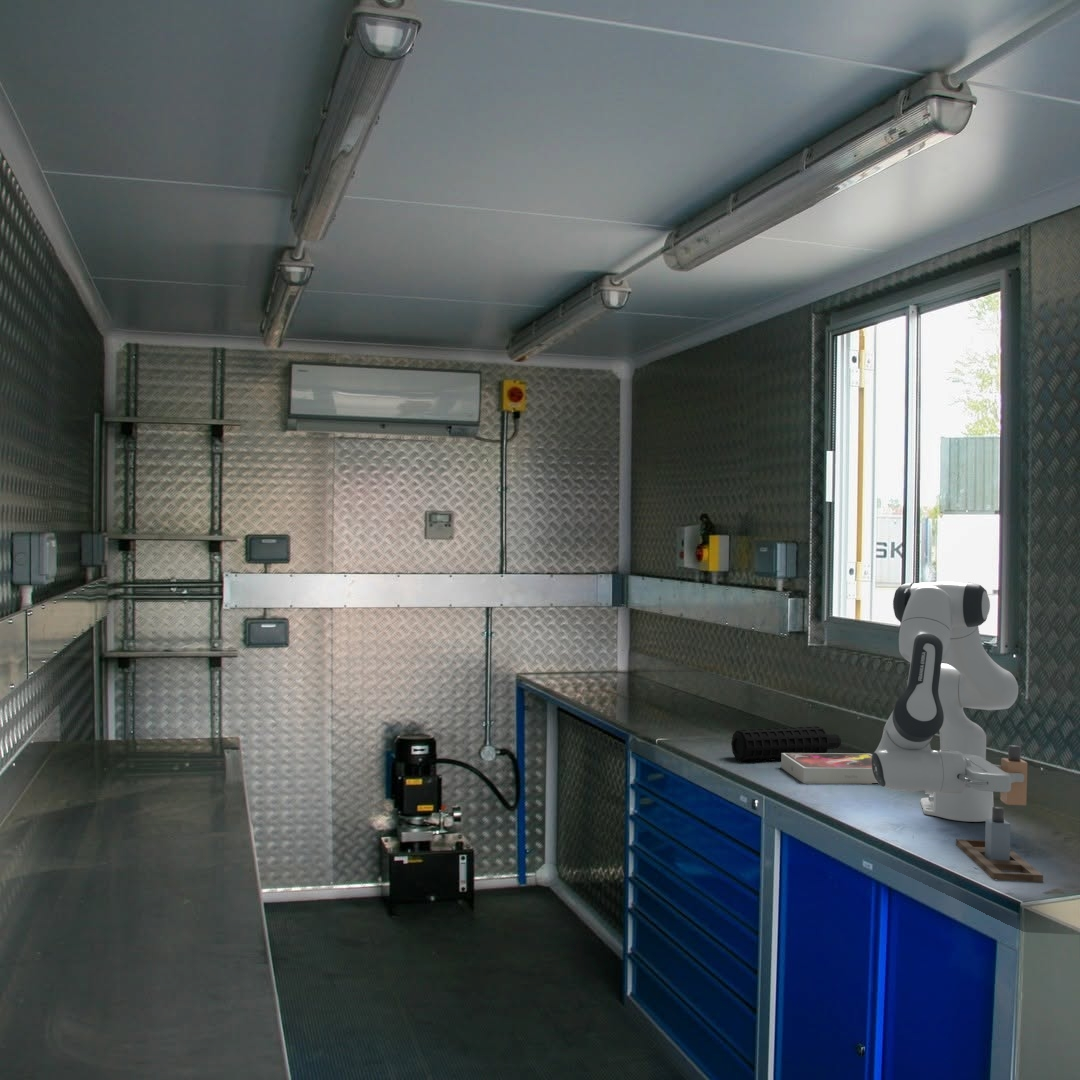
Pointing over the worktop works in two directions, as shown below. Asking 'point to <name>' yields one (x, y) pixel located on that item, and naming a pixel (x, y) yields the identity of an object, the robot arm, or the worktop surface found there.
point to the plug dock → (999, 863)
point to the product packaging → (829, 768)
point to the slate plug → (997, 836)
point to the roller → (781, 742)
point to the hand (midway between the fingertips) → (1018, 774)
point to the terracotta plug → (1017, 788)
